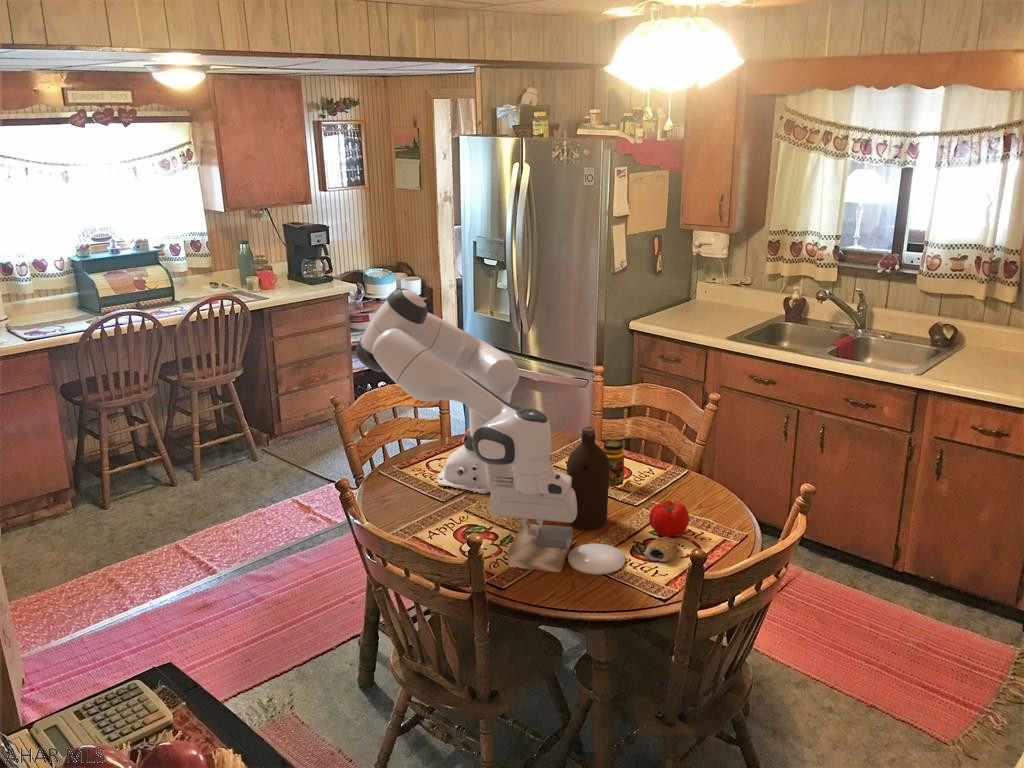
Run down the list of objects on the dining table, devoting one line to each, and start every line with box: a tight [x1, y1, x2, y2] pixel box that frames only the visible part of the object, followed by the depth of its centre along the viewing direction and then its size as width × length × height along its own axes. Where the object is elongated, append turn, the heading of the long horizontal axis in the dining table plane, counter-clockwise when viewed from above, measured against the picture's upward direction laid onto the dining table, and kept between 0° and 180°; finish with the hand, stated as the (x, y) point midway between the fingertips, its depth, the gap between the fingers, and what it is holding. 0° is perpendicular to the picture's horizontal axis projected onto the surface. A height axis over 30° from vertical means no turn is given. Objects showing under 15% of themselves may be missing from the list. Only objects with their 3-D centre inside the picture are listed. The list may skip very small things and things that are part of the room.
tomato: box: [648, 499, 690, 538], centre depth 203 cm, size 9×9×8 cm
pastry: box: [643, 536, 679, 563], centre depth 194 cm, size 9×7×4 cm
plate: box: [567, 543, 626, 576], centre depth 192 cm, size 13×13×1 cm
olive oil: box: [566, 426, 610, 531], centre depth 207 cm, size 11×11×25 cm
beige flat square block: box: [507, 523, 573, 573], centre depth 195 cm, size 12×14×4 cm
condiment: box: [602, 440, 625, 486], centre depth 232 cm, size 7×8×12 cm
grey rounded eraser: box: [536, 524, 573, 549], centre depth 193 cm, size 7×7×2 cm
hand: (533, 534), depth 194 cm, fingers closed
